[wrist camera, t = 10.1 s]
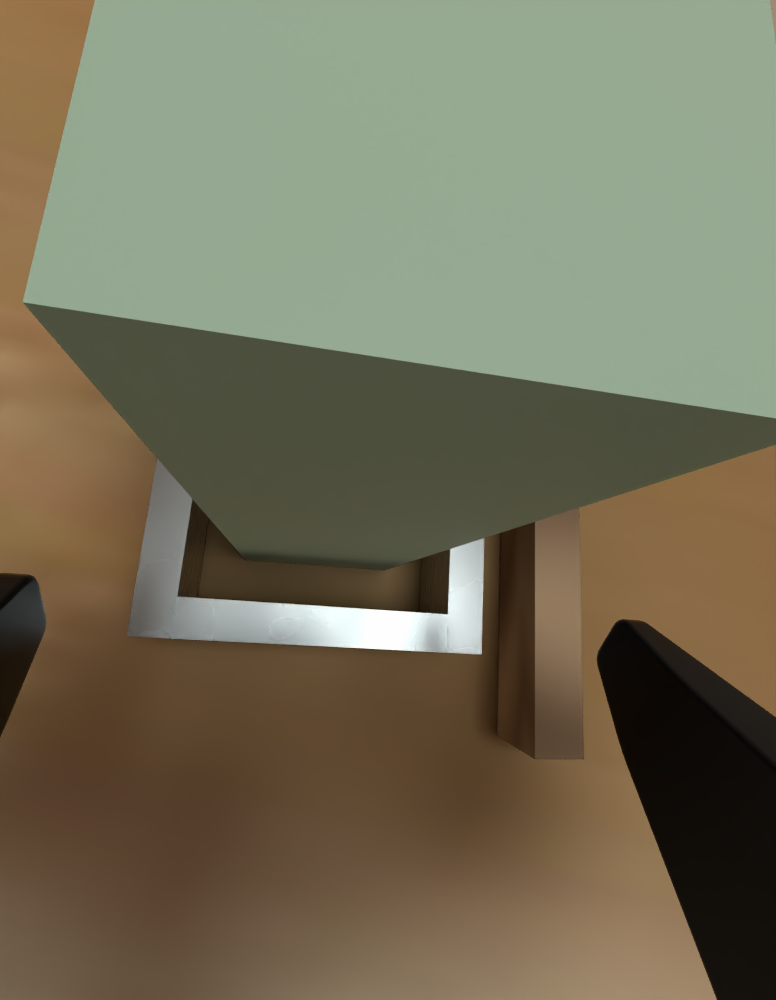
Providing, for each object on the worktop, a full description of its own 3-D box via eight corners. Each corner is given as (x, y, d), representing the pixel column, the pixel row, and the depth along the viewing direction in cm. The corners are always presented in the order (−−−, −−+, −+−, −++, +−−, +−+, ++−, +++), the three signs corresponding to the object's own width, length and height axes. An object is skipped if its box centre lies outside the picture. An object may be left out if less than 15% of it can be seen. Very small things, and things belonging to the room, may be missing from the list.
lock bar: (384, 569, 16) (831, 427, 3) (244, 559, 16) (20, 301, 2) (391, 441, 17) (755, -94, 4) (261, 425, 17) (170, -319, 3)
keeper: (446, 645, 16) (481, 654, 14) (156, 629, 15) (126, 636, 12) (455, 392, 18) (488, 353, 15) (201, 353, 17) (184, 301, 14)
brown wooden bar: (539, 736, 16) (583, 759, 14) (497, 735, 16) (534, 758, 14) (539, 351, 19) (575, 316, 17) (503, 345, 19) (535, 308, 17)
